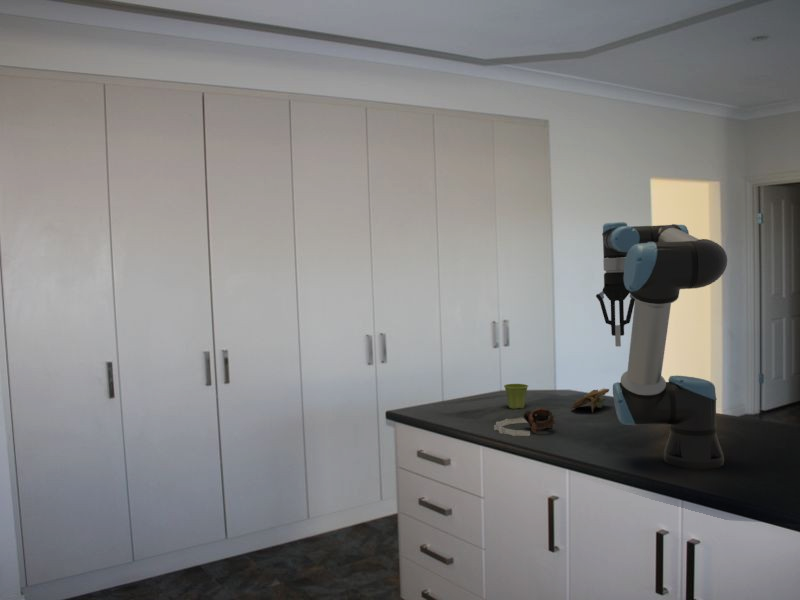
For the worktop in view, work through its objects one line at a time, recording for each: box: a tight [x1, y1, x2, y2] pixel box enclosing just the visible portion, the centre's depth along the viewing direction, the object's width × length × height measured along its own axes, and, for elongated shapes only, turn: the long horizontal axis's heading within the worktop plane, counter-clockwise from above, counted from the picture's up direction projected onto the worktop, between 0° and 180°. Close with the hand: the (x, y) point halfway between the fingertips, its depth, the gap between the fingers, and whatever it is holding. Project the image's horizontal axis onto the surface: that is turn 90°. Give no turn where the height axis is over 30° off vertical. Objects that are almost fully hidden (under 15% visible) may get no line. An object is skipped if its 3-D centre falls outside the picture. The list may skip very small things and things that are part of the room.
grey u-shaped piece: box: [493, 417, 531, 437], centre depth 231 cm, size 21×13×2 cm, turn 163°
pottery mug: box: [523, 408, 556, 434], centre depth 226 cm, size 12×9×8 cm
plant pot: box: [503, 383, 529, 410], centre depth 264 cm, size 9×9×9 cm
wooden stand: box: [570, 387, 610, 414], centre depth 253 cm, size 18×14×8 cm
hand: (618, 345), depth 214 cm, fingers closed
